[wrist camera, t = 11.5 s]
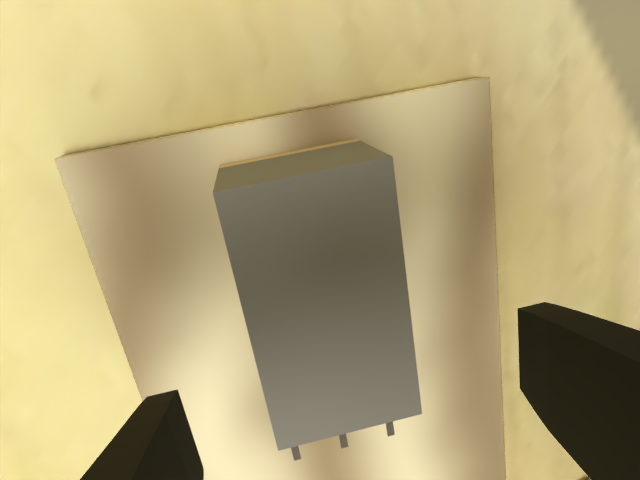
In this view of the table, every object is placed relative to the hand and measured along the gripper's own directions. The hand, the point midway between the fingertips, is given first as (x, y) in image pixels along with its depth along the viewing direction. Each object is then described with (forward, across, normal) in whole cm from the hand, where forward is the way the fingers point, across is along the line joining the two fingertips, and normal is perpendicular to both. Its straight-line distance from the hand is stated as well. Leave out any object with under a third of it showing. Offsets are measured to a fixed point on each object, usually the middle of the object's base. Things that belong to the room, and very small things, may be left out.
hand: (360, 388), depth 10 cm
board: (+8, 0, +4) cm, 9 cm away
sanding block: (+7, 0, 0) cm, 7 cm away
